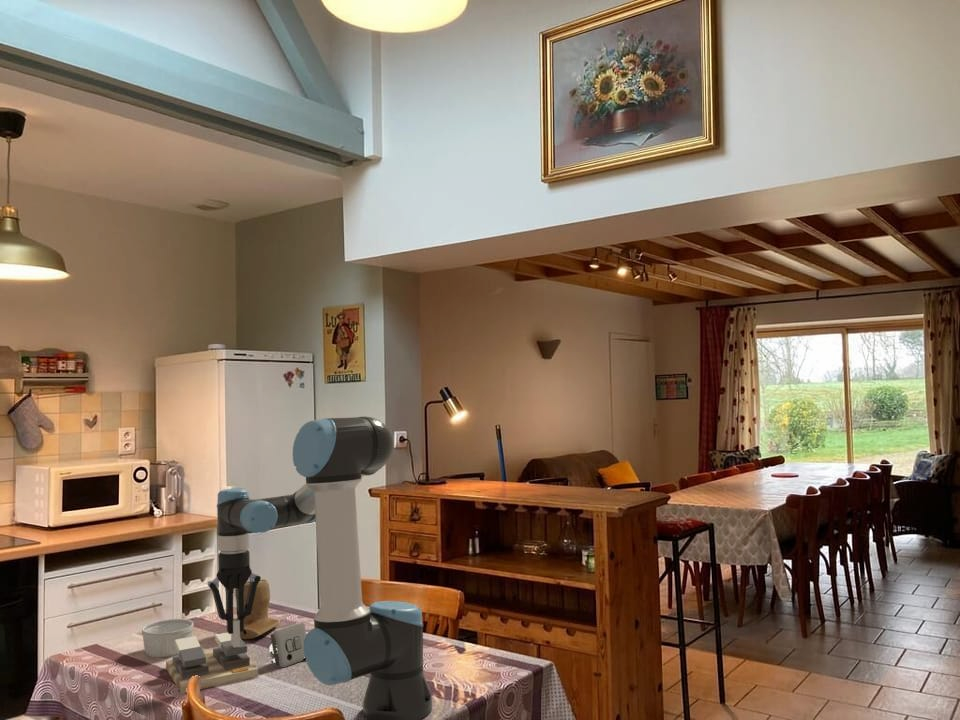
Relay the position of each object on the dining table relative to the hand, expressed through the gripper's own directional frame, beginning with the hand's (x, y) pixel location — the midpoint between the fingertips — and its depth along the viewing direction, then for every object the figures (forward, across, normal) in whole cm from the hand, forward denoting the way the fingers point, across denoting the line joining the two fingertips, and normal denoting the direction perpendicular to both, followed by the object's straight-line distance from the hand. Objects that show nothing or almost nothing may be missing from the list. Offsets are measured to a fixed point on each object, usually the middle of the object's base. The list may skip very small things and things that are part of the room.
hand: (235, 645), depth 195 cm
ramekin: (+7, +11, -29) cm, 32 cm away
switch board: (+7, +5, -5) cm, 10 cm away
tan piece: (+7, -13, -31) cm, 34 cm away
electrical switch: (+7, -14, -1) cm, 16 cm away
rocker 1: (+2, +10, -5) cm, 11 cm away
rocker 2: (+2, 0, -5) cm, 5 cm away
